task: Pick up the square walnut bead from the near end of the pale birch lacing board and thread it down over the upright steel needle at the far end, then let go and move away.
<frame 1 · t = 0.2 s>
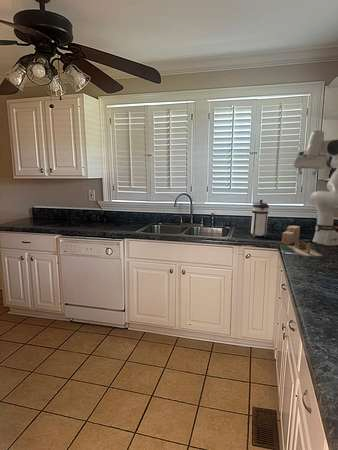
hand: (306, 174, 204), 51 cm above the worktop, tool tilted 20°, fingers open, 8 cm apart
coffee press: (257, 236, 255), on the worktop
stack of blocks: (289, 243, 233), on the worktop
walnut bead: (300, 248, 213), point 1 cm above the worktop, touching lacing board
lacing board: (303, 252, 207), on the worktop
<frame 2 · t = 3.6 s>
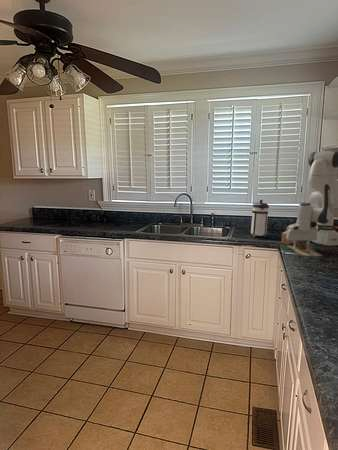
hand: (300, 246, 213), 3 cm above the worktop, tool pointing down, fingers closed on walnut bead, 6 cm apart
walnut bead: (300, 248, 213), point 1 cm above the worktop, touching gripper, lacing board
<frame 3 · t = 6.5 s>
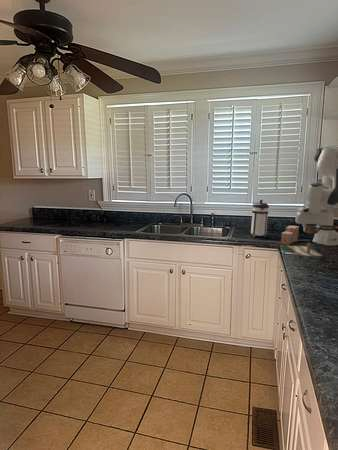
hand: (310, 230, 198), 16 cm above the worktop, tool pointing down, fingers closed on walnut bead, 6 cm apart
walnut bead: (310, 232, 199), point 15 cm above the worktop, touching gripper
when the fingers open (6 cm above the worktop, at t = 9.3 s): walnut bead drops 3 cm, resting on lacing board.
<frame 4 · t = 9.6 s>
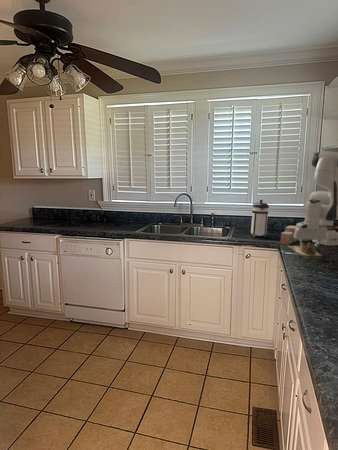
hand: (309, 246, 200), 6 cm above the worktop, tool pointing down, fingers open, 8 cm apart
walnut bead: (308, 252, 201), point 1 cm above the worktop, touching lacing board
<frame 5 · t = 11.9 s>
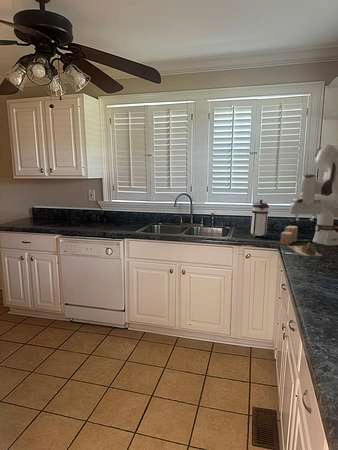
hand: (304, 220, 204), 21 cm above the worktop, tool pointing down, fingers open, 8 cm apart
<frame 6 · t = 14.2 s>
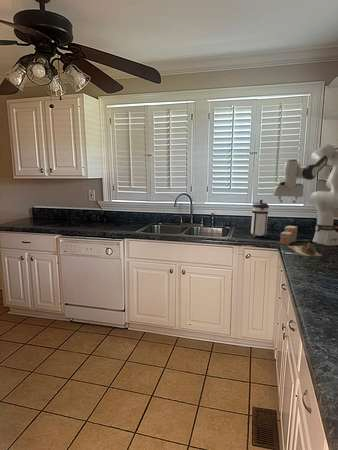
hand: (287, 202, 220), 31 cm above the worktop, tool pointing down, fingers open, 8 cm apart
at the end: walnut bead 0.1 cm from the target spot on the lacing board, point 1.5 cm above the lacing board's base; the gripper is holding nothing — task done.
